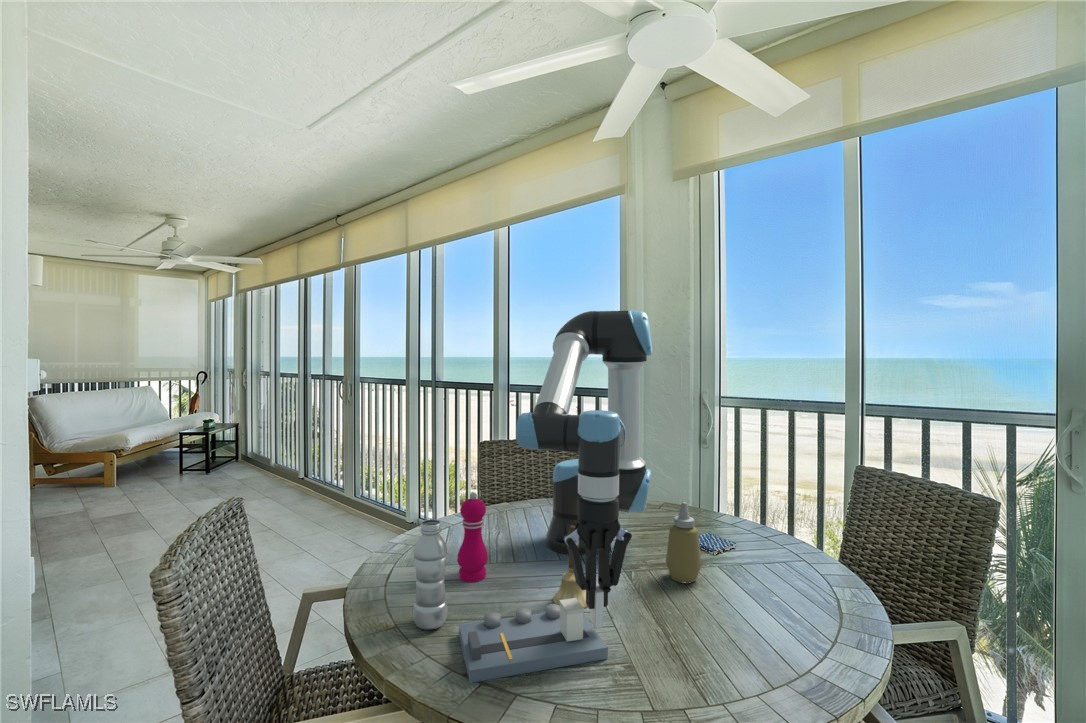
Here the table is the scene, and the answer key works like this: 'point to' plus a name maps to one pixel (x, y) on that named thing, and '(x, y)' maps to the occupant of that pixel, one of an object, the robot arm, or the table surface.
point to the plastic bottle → (430, 577)
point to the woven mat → (714, 543)
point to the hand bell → (570, 584)
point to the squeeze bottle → (683, 548)
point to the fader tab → (571, 619)
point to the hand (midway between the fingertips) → (596, 624)
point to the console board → (525, 644)
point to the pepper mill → (472, 541)
